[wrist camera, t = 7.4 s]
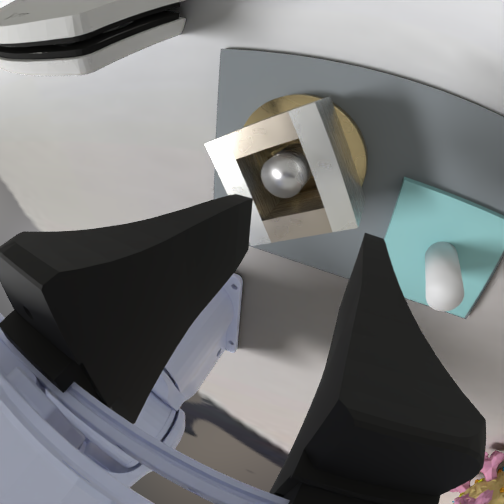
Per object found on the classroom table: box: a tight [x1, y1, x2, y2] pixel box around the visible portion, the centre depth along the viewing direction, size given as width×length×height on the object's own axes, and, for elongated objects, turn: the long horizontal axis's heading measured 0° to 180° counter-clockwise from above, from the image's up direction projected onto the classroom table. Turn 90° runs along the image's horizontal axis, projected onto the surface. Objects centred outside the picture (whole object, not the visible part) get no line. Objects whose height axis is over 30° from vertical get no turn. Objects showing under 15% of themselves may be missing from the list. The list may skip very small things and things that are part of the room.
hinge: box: [0, 0, 186, 76], centre depth 13 cm, size 17×5×10 cm, turn 71°
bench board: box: [214, 49, 504, 319], centre depth 16 cm, size 12×18×1 cm
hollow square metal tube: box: [205, 96, 366, 246], centre depth 15 cm, size 6×6×3 cm
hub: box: [244, 94, 368, 198], centre depth 15 cm, size 7×7×4 cm
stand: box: [384, 177, 504, 318], centre depth 14 cm, size 7×7×4 cm
